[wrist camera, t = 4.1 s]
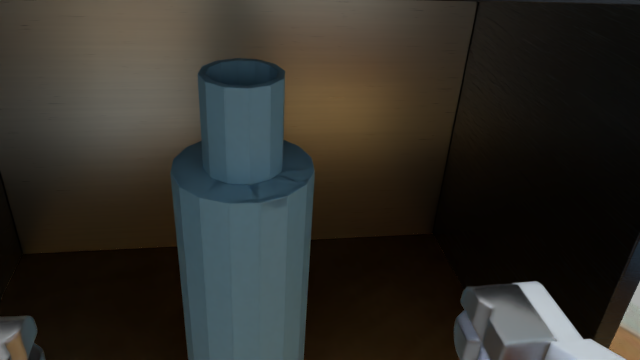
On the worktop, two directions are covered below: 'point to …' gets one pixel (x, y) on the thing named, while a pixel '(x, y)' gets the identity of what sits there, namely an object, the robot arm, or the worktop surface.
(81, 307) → the worktop surface
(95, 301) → the worktop surface
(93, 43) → the mini fridge
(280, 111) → the water bottle
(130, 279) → the worktop surface
